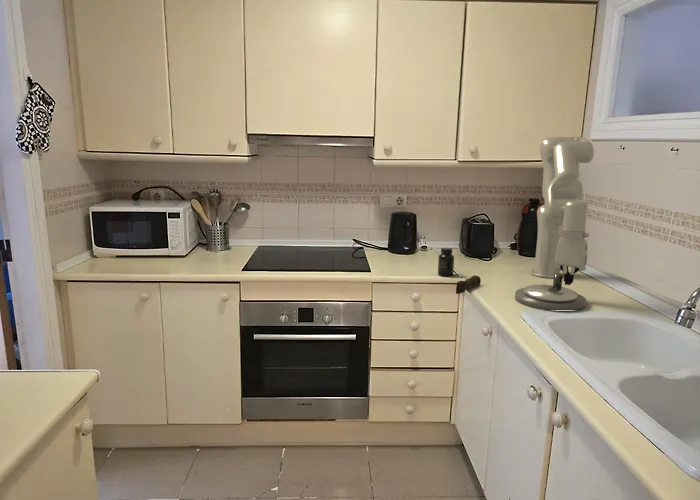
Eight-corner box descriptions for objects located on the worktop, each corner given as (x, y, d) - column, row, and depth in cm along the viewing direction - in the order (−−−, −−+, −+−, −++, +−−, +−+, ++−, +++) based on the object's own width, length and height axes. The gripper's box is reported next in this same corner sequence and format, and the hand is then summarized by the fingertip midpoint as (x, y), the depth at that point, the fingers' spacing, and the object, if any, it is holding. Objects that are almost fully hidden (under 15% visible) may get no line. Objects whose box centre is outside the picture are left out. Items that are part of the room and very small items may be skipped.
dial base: (555, 290, 189) (556, 284, 188) (601, 308, 166) (602, 302, 166) (502, 294, 183) (502, 288, 182) (542, 314, 160) (542, 307, 159)
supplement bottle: (456, 275, 210) (458, 249, 207) (445, 277, 206) (446, 250, 204) (445, 272, 215) (446, 246, 213) (434, 274, 212) (435, 248, 209)
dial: (567, 306, 161) (569, 287, 160) (515, 295, 173) (517, 278, 172) (583, 294, 174) (585, 277, 173) (535, 285, 186) (536, 269, 185)
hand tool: (471, 283, 198) (472, 272, 197) (480, 285, 195) (481, 274, 194) (449, 293, 184) (450, 282, 183) (459, 295, 181) (459, 283, 180)
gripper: (597, 236, 171) (592, 285, 174) (554, 232, 180) (549, 279, 183) (593, 238, 165) (587, 289, 168) (548, 234, 174) (544, 282, 177)
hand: (568, 284), depth 176 cm, fingers closed
